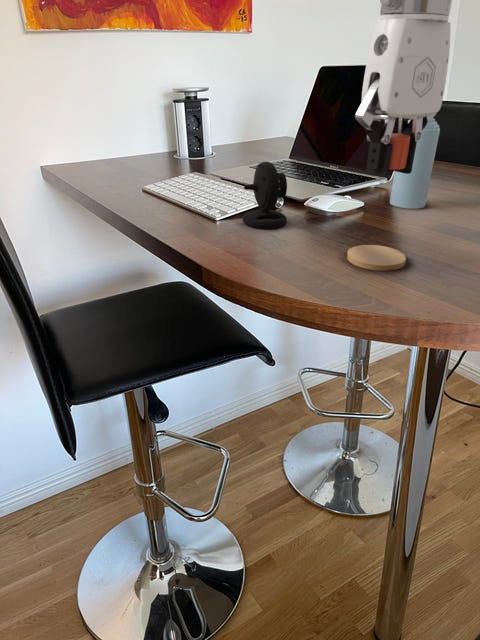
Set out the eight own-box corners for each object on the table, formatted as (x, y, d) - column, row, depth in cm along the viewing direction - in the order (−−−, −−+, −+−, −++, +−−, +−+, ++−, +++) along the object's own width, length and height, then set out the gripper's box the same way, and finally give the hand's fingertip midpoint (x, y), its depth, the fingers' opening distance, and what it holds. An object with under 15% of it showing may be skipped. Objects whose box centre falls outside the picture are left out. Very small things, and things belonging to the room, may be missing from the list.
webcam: (293, 228, 82) (298, 165, 77) (250, 231, 80) (252, 167, 75) (277, 214, 89) (280, 156, 84) (236, 217, 87) (237, 158, 82)
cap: (391, 170, 62) (396, 138, 60) (367, 165, 64) (371, 134, 63) (411, 167, 64) (417, 136, 62) (387, 162, 66) (392, 132, 65)
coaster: (373, 246, 75) (374, 241, 75) (417, 263, 69) (418, 257, 69) (335, 256, 71) (335, 251, 71) (378, 275, 65) (378, 269, 65)
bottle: (404, 198, 101) (422, 92, 91) (432, 205, 96) (454, 95, 87) (382, 202, 97) (399, 93, 88) (410, 210, 93) (431, 96, 83)
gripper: (392, -1, 49) (365, 187, 57) (488, 10, 57) (452, 172, 66) (337, 3, 54) (320, 174, 63) (433, 13, 63) (406, 162, 71)
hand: (388, 172), depth 64 cm, fingers closed on cap, 3 cm apart
